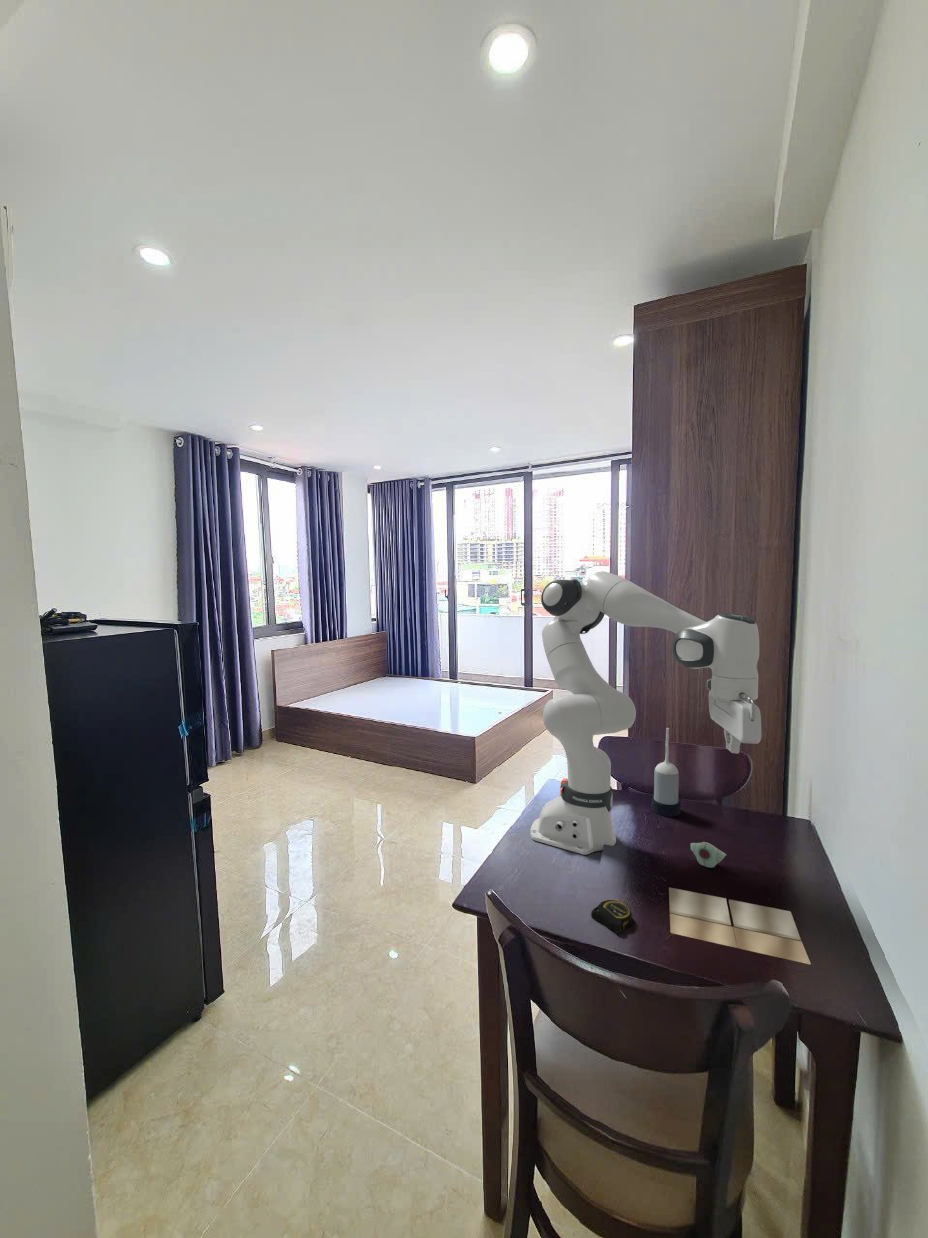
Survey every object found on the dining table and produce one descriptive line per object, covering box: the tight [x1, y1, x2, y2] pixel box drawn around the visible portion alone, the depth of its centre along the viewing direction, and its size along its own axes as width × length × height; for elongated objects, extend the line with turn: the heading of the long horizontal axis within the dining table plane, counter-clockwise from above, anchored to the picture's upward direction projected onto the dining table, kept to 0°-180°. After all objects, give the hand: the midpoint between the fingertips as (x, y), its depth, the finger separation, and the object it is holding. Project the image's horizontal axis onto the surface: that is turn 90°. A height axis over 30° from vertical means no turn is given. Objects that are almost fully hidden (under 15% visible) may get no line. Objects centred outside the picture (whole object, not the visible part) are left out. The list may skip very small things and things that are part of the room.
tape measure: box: [590, 899, 634, 937], centre depth 98 cm, size 7×7×4 cm
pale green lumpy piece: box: [690, 841, 728, 869], centre depth 117 cm, size 8×4×7 cm, turn 49°
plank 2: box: [728, 899, 802, 942], centre depth 98 cm, size 11×8×2 cm
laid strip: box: [669, 913, 812, 966], centre depth 93 cm, size 22×6×2 cm, turn 69°
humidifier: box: [650, 727, 682, 818], centre depth 148 cm, size 8×8×25 cm
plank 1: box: [668, 887, 732, 927], centre depth 102 cm, size 11×8×2 cm
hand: (732, 751), depth 108 cm, fingers closed
